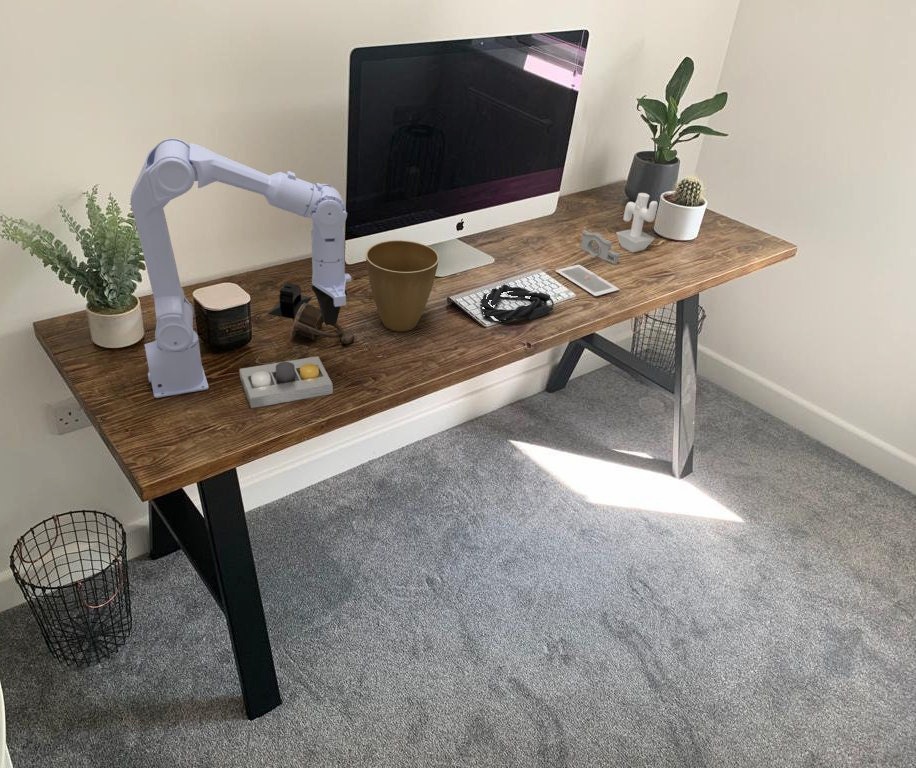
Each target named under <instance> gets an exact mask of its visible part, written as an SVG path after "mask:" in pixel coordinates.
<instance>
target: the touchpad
mask: <svg viewBox="0 0 916 768" xmlns="http://www.w3.org/2000/svg"><path fill="white" fill-rule="evenodd" d="M555 272H556V273H559V274H560V275H561V276H563V277H564V278H567V280H569V281H570V282H572V283H574V284H576V285H577V286H579V287H580V288H582V289H583V290H584V291H586V292H589V293H590V294H591V295H593V296H594V297H598V296H602V295H605V294H608V293H609V294H610V293H613V292H616V291H620V290H621V289H620V288H618V287H617V286H615V285H614V284H612V283H611V282H609V281H607V280H605V279H604V278H602V277H601V276H599V275H597V274H595V273H594V272H592V271H590V270H589V269H587V268H585V267H584V266H583V265H580V264H575V265H570V266H568V267H564V268H559V269H555Z"/></svg>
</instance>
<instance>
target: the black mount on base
mask: <svg viewBox="0 0 916 768" xmlns="http://www.w3.org/2000/svg"><path fill="white" fill-rule="evenodd" d="M278 296H279V301H278V302H277V303H276V304H275V305H274V306H273V307H272V308H271V310H269V312H268V313H267V315H270V316H275V317H281V318H287V319H292V320H294V318H295V315H296V313H297V311H298V309H299V307H300V306H301V305H302V304H304V303H307V304H309V302H310V301H311V300H312V299H313V297H312V296H308V295H302V289H301V285H300V284H295V283H290V282H289V283H288V282H286V283H285V285H284V286H283V287H282V288H281V289H280V290H279V295H278Z"/></svg>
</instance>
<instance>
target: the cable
mask: <svg viewBox="0 0 916 768" xmlns="http://www.w3.org/2000/svg"><path fill="white" fill-rule="evenodd" d="M507 291H513V292H509V293H507V294H508V295H511V296H518V298H523V297H525V296H531V297H530V299H531V300H530V301H531V303H530V304H527V305H525V304H524V305H519V306H517V307H516V308H513V309H500V308H499V309H497V308H496V307H495V308H493V307H491V306H490V305H489V304H488V302H489V300H492V301H491V305H492V306H493V305H495V304H496V303H497V304H498V302H499V299H500V298H499V297H500V295H501V293H503V292H507ZM489 293H490V294H489V295H488V297H487V299H486V295H487V294H488V293H485V294H483V295H482V298H483V299H482V300H481V299H480V300H481V301H480V304H479V306H480V307H481V308H482V307H484V308H485V309H482V311H483V312H484V314H483V312H482V311H481V312H482V316H483V315H487V316H488V317H489V316H494V317H495V318H496V319H498V320H499V321H501V322H500V323H508V322H511V321H515V320H524V319H525V320H526V319H528V320H531V321H532V320H534V319H535V320H536V319H538V318H541V317H544V316H546V315H548V314H549V313H550V312H551V311H553V309H554V305H555V302H554V299H552V298H551V296H550V294H547V293H545V292H540V291H539V292H538V291H531V290H528V289H526V288H524V287H519V286H509V285H507V283H506V284H505V283H504V284H502V285H501V286H499V287H498V289H497V288H496V287H495V288H494V287H493V288H491V290H490V292H489ZM548 301H550V302H551V306H547V305H548ZM481 303H482V304H481ZM497 304H496V305H497ZM487 316H486V317H487Z"/></svg>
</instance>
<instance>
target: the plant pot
mask: <svg viewBox="0 0 916 768" xmlns="http://www.w3.org/2000/svg"><path fill="white" fill-rule="evenodd" d="M365 260H366V261H365V262H366V268H367V273H368V278H369V285H370V288H371V293H372V296H373V299H374V303H375V306H376V310H377V313H378V315H379V317H380V320H381V323H382V325H383V326H384V327H385V328H386V329H388V330H392V331H393V332H394V331H396V332H407V331H410V330H413V329H414V328H415V327H417V325H418V324H419V321H420V319H421V317H422V315H423V313H424V310H425V308H426V305H427V303H428V301H429V298H430V295H431V293H432V289H433V285H434V281H435V278H436V274H437V270H438V264H439V261H440V256H439V254H438V252H437V251H436V250H435V249H434V248H432V247H431V246H429V245H426V244H423V243H420V242H417V241H411V240H403V239H400V240H399V239H395V240H385V241H381V242H378V243H375V244H373V245H371V246H370V247H369V248H367V250H366V251H365Z"/></svg>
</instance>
